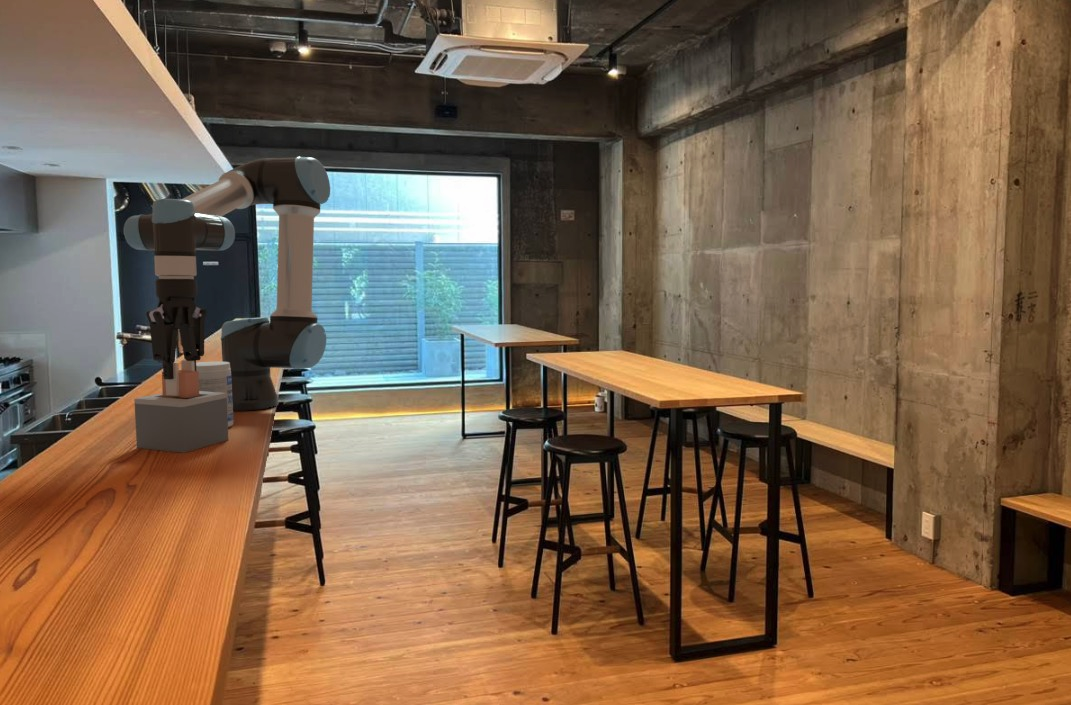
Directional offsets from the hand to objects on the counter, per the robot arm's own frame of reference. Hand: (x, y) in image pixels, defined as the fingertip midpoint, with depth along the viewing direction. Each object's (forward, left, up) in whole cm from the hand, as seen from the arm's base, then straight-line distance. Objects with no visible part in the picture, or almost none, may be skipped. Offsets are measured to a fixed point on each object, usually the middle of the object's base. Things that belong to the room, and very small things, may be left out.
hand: (181, 393), depth 150 cm
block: (0, 0, 0) cm, 0 cm away
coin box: (0, 0, -10) cm, 10 cm away
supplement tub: (-15, -7, -11) cm, 20 cm away
